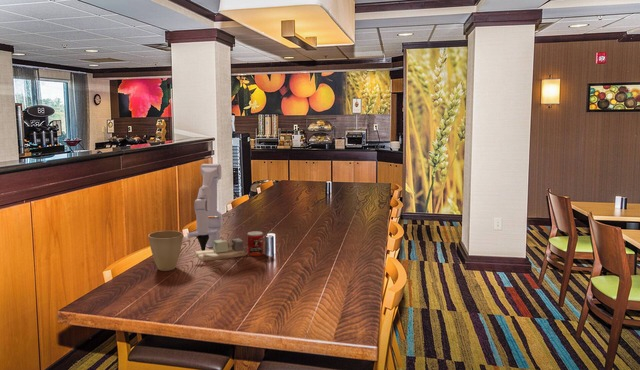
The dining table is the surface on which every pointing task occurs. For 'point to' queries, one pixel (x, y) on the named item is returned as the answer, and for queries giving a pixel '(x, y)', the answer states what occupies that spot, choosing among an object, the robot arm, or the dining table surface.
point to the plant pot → (166, 248)
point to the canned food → (255, 243)
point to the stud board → (233, 251)
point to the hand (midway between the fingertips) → (203, 250)
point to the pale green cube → (220, 246)
